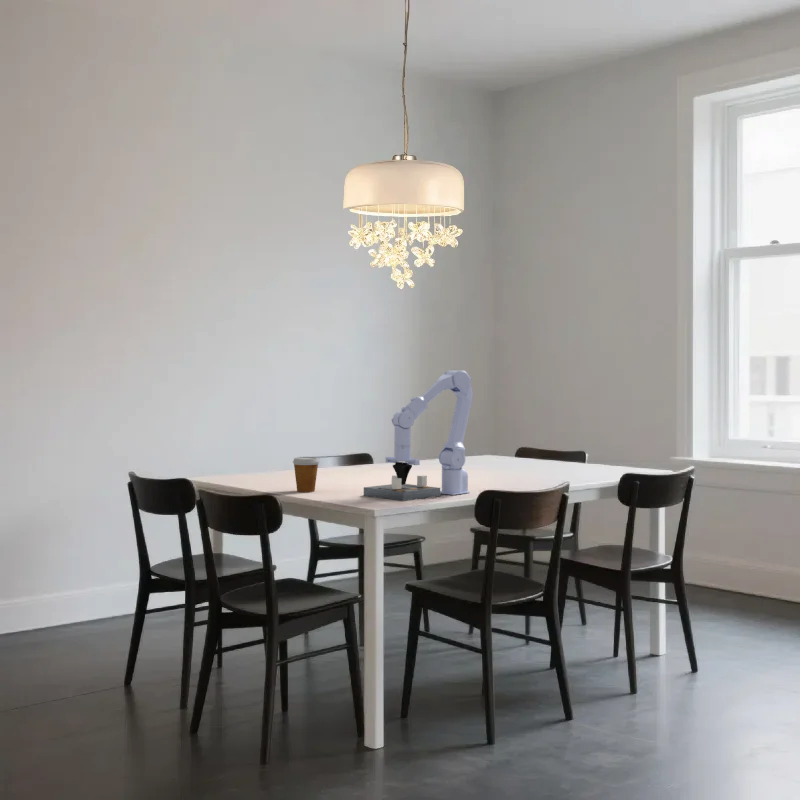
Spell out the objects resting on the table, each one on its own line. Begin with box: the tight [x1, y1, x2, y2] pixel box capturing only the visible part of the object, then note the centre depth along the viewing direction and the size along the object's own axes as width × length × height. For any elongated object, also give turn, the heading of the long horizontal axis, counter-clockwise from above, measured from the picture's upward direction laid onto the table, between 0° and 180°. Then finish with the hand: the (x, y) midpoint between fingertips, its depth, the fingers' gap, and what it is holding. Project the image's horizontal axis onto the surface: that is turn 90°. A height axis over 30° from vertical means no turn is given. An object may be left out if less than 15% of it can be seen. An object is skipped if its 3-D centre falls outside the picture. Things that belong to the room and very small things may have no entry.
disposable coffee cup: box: [292, 456, 320, 493], centre depth 375 cm, size 10×10×12 cm
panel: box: [363, 483, 441, 502], centre depth 364 cm, size 19×19×3 cm
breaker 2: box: [416, 474, 428, 486], centre depth 367 cm, size 2×2×4 cm
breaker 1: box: [391, 477, 402, 489], centre depth 357 cm, size 2×2×4 cm
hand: (402, 484), depth 364 cm, fingers closed
